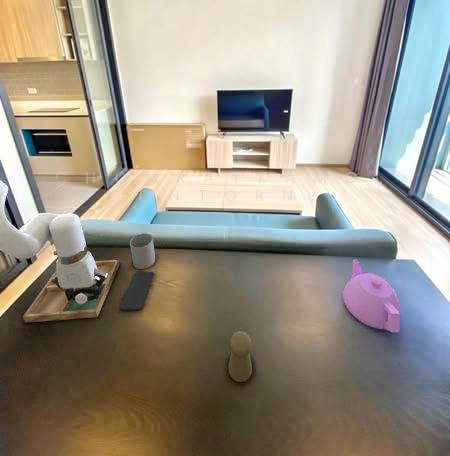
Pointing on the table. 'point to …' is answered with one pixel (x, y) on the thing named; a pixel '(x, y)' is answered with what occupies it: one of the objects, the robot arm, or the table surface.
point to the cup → (142, 250)
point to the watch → (81, 297)
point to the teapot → (372, 300)
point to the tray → (62, 308)
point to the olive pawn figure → (240, 357)
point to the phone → (137, 291)
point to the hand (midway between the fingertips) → (84, 295)
